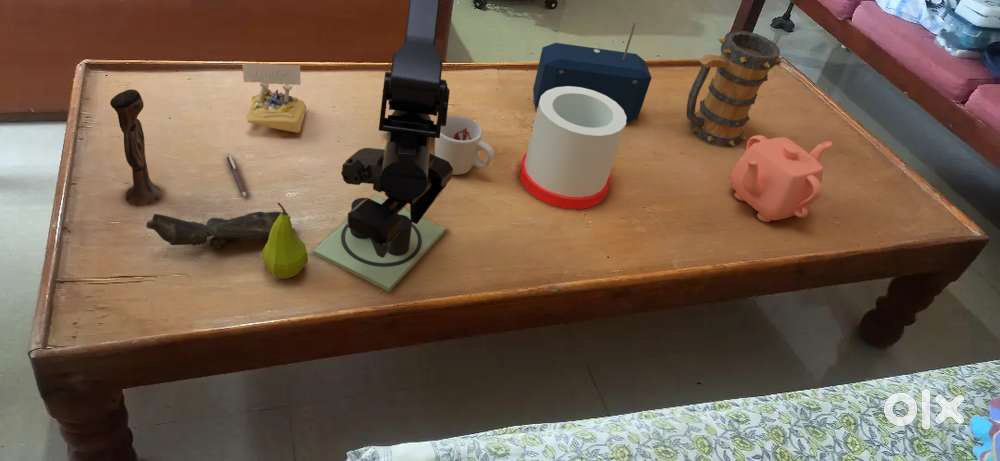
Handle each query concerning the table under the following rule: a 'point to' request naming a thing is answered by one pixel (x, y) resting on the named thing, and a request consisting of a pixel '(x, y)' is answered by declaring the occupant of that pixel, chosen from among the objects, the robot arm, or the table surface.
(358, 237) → the stamp
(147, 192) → the figurine
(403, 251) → the stamp
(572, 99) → the container
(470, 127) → the cup
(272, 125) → the cake
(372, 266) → the board
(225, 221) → the statue
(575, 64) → the radio
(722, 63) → the mug
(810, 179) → the teapot
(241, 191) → the pen
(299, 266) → the fruit
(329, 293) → the table surface
